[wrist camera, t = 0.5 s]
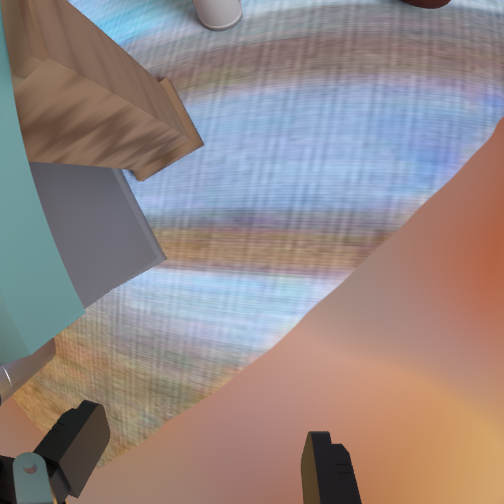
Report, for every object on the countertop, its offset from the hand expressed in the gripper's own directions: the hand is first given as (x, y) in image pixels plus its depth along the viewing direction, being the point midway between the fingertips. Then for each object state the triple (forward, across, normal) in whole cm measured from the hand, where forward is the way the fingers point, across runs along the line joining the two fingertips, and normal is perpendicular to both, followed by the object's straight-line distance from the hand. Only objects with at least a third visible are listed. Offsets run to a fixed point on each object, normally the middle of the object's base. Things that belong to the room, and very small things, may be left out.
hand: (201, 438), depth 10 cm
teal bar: (+2, -12, +14) cm, 19 cm away
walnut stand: (+34, -14, +16) cm, 40 cm away
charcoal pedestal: (+34, -20, +3) cm, 40 cm away
